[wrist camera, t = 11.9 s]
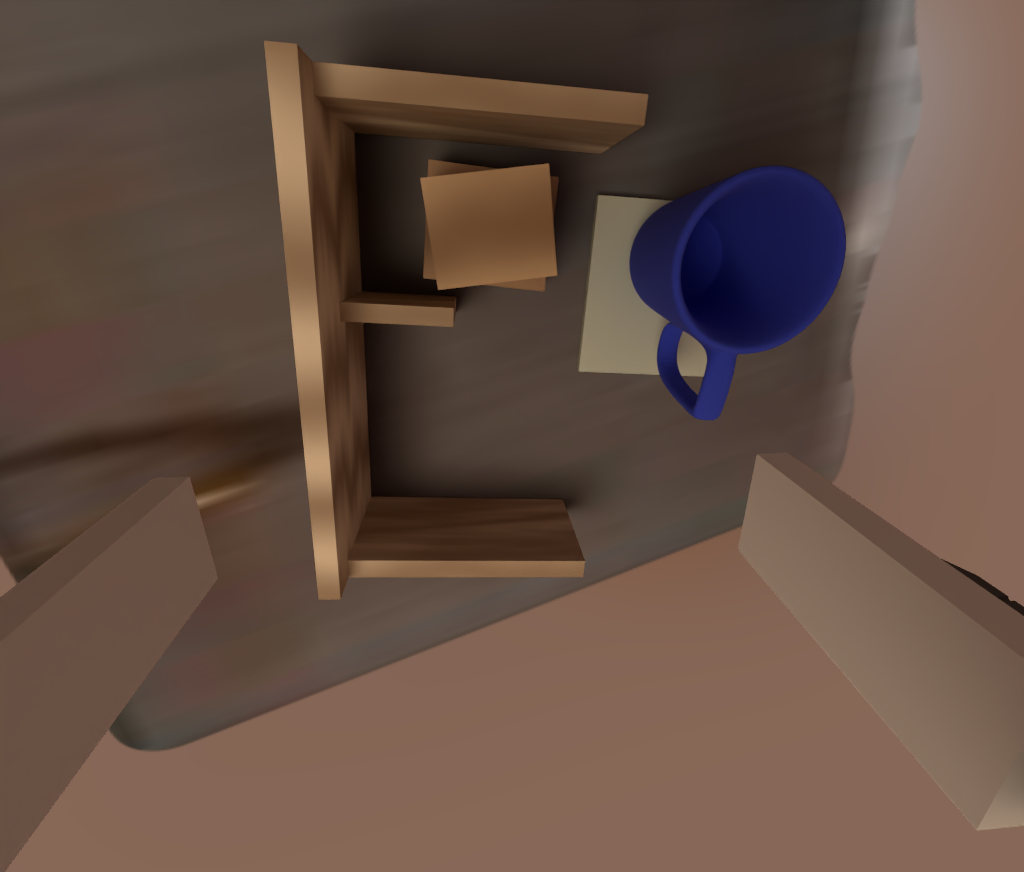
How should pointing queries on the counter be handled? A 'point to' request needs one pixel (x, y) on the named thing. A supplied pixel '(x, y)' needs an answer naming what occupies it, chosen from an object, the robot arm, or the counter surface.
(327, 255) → the rack
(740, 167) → the counter surface
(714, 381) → the mug
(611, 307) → the sage tile
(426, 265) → the offcut walnut
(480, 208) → the offcut oak
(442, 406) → the counter surface
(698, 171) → the counter surface
